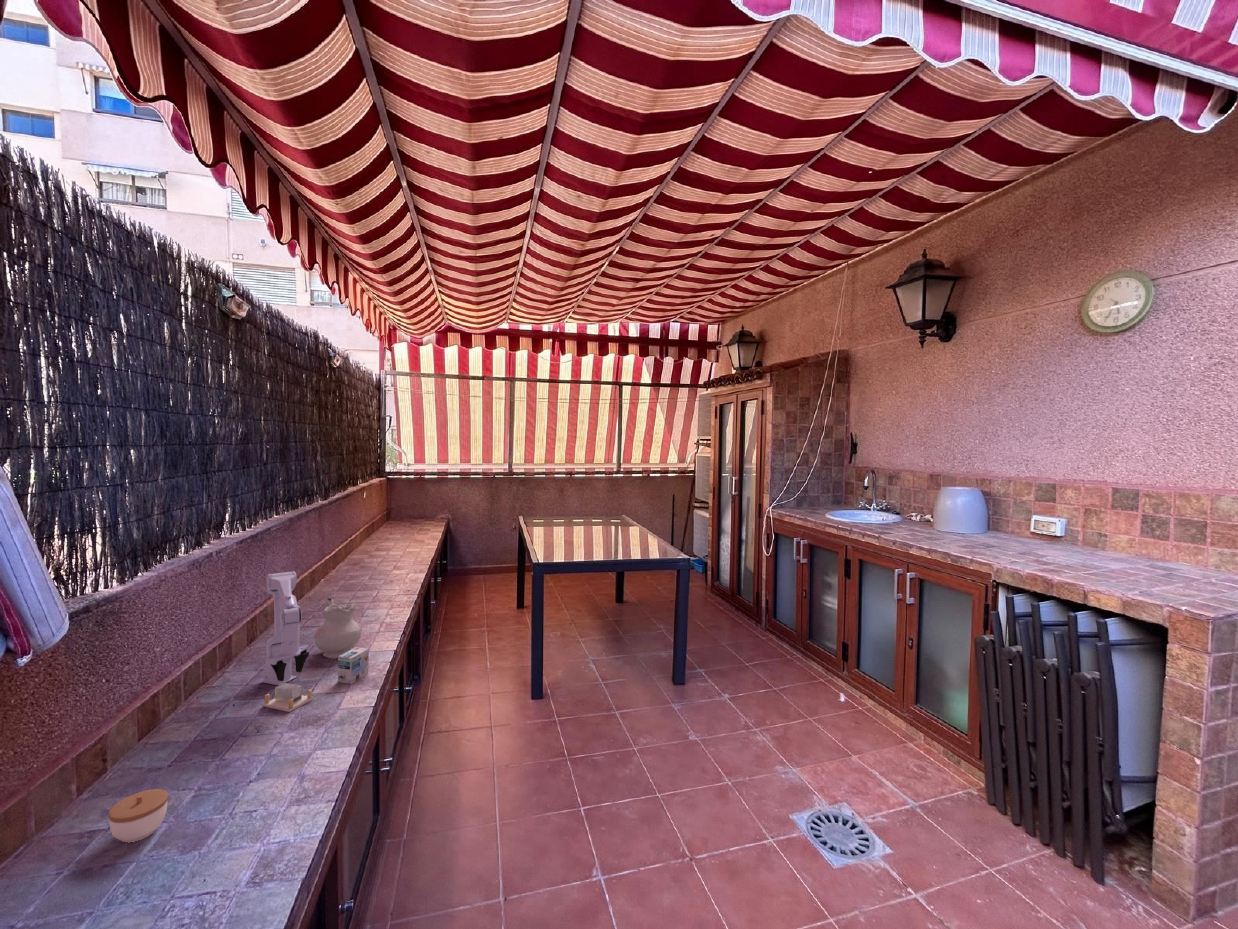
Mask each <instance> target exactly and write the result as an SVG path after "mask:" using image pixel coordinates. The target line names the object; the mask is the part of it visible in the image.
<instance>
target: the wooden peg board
mask: <svg viewBox="0 0 1238 929" xmlns="http://www.w3.org/2000/svg"><path fill="white" fill-rule="evenodd" d="M312 692H313V691H312V689H307V690H306V695H305V694H304V695H303V694H302V700H300V701H298V702H297V703H295V704H293V699H289V704H285V703H280V702H276V701H275V698H272V699H270V695H271V694H270V693H267V694H265V695H264V703H263V706H264V708H265V707H266V708H270V709H275V710H279V711H283V712H287V713H288V712H289V713H291V712H292V711H294V710H296V709H298V708H300V707H301V706H303V705H305V704H307V703H309V702H311V701H312V700H313V695H312Z"/></svg>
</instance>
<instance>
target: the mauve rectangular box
mask: <svg viewBox="0 0 1238 929" xmlns="http://www.w3.org/2000/svg"><path fill="white" fill-rule="evenodd" d="M302 695H303V685H299V684H293V683H288V682H286V683H284V684H282V685H276V686H275V687H274V699H275V701H276V702H280V703H285V704H289V699H293V704H295V703H297V702H298V701H300V700H302Z"/></svg>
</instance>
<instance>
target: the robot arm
mask: <svg viewBox="0 0 1238 929" xmlns="http://www.w3.org/2000/svg"><path fill="white" fill-rule="evenodd" d="M297 580H298V578H297V572H295V570H292V571H286V572H277V573H268V574H267V575H266V593H267V594H269V595H272V597H273V615H274V616H273V618H274V619H273V620H274V623H273V624H274V628H273V629H274V634H273V636H271V637H270V638H268V640H267V641H266V647H265V657H266V661H265V662H264V665H263V680H261V682H262V683H265V684H269V685H274V686H280V685H282V684H284V683H288V682H290V681H292V680H294V679H297V676H296V675H292V659H293V658H294V660H295V661H294V662H295V672H296V673H300V674H301V673H302V672H303V668H304V666H305V663H306V661H307V658H308V657H309V655H310V652H309V651H310V645H308V644H303V645H300V633H301V632H300V631H301V630H300V628H301V627H300V623H301V622H302V618H303V612H302V608H301V606H300V605H298V601H297V597H296V595H294V594H293V593H292V592H293V591H294V589H295V588H296V586H297V583H298V582H297Z"/></svg>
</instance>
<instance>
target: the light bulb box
mask: <svg viewBox="0 0 1238 929" xmlns="http://www.w3.org/2000/svg"><path fill="white" fill-rule="evenodd" d="M350 649H351V650H350V651H348V652H346V653H344V654H342V655H340V656H338V659H337V682H338V683H343V684H351V685H352V684H353V683H355V682H357V681H358V680H360V679H362V678H363V677H365V676H367V675H369V659H370V656H369V655H370V649H369V648H366V647H359V646H358V647H357V646H354V647H353V648H350Z"/></svg>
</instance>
